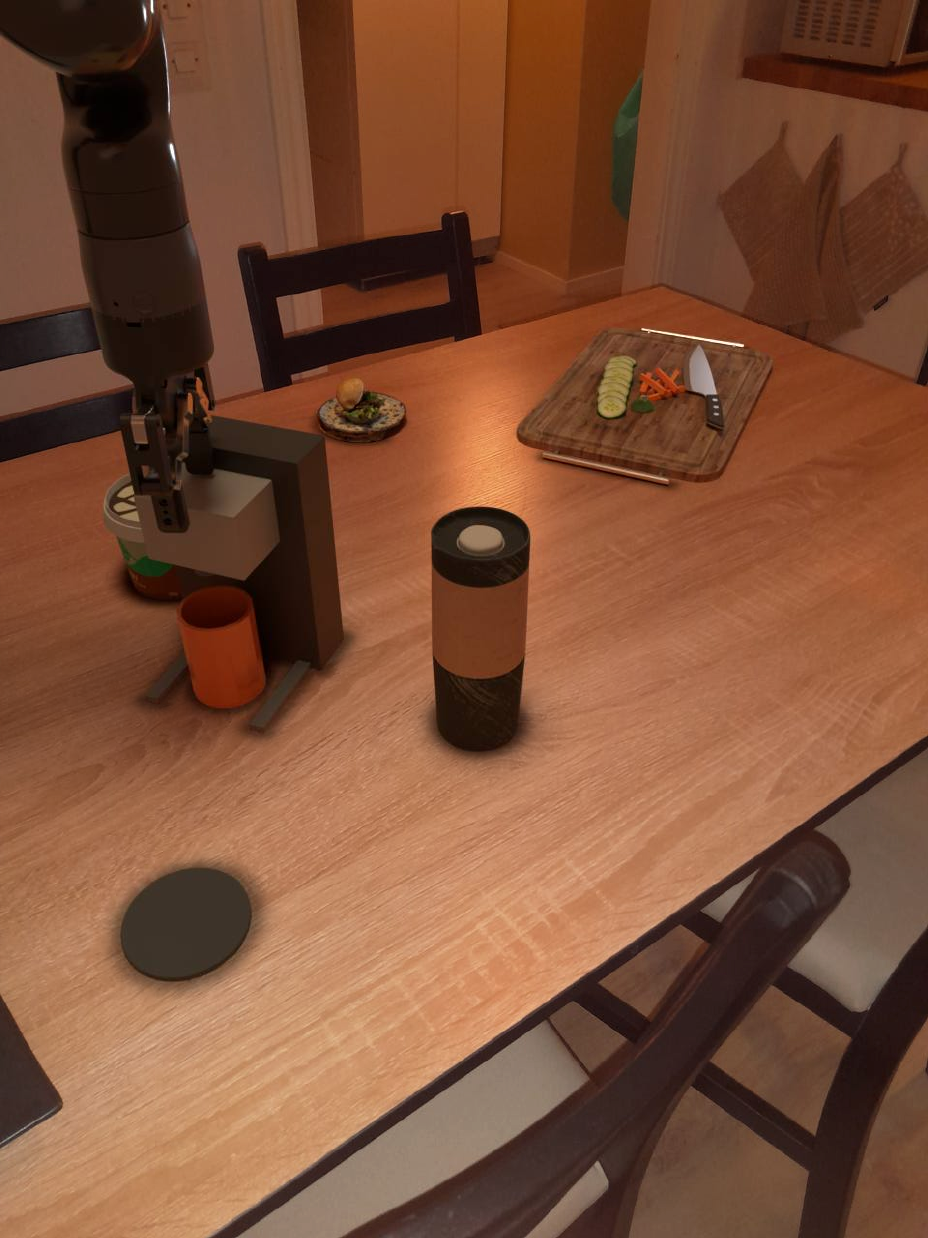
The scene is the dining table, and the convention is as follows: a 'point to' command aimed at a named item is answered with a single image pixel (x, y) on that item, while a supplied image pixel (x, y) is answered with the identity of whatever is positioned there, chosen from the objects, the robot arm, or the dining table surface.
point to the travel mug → (479, 624)
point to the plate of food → (359, 413)
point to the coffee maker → (259, 546)
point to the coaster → (186, 924)
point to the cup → (222, 646)
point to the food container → (137, 544)
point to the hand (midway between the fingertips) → (188, 500)
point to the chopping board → (649, 405)
